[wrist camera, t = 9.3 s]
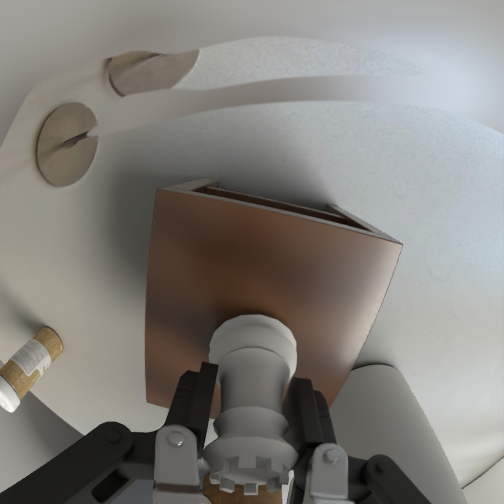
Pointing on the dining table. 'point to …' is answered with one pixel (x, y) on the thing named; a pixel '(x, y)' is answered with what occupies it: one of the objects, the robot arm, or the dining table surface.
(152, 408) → the dining table surface
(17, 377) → the sprinkles bottle
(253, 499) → the wooden container
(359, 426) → the cylinder vase
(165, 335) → the wooden lidded box
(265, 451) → the rook chess piece
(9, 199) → the dining table surface
